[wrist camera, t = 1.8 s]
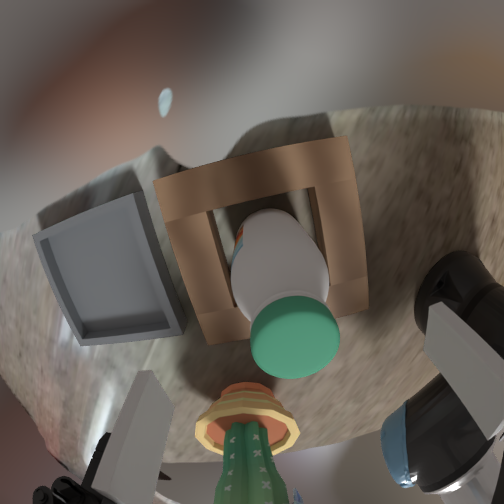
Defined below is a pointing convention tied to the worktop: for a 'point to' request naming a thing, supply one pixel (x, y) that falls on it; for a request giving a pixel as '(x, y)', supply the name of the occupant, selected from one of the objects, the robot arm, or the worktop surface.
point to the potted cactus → (248, 444)
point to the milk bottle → (283, 295)
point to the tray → (111, 274)
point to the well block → (253, 187)
